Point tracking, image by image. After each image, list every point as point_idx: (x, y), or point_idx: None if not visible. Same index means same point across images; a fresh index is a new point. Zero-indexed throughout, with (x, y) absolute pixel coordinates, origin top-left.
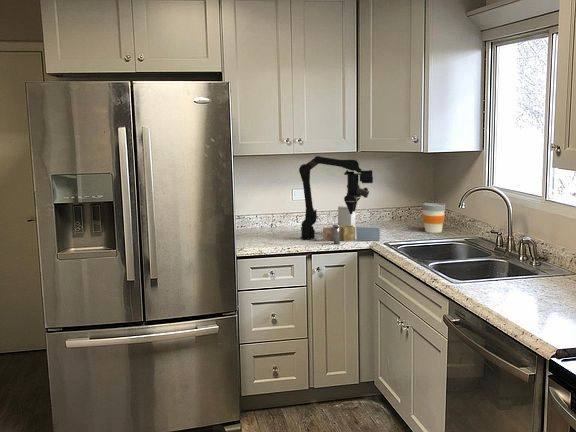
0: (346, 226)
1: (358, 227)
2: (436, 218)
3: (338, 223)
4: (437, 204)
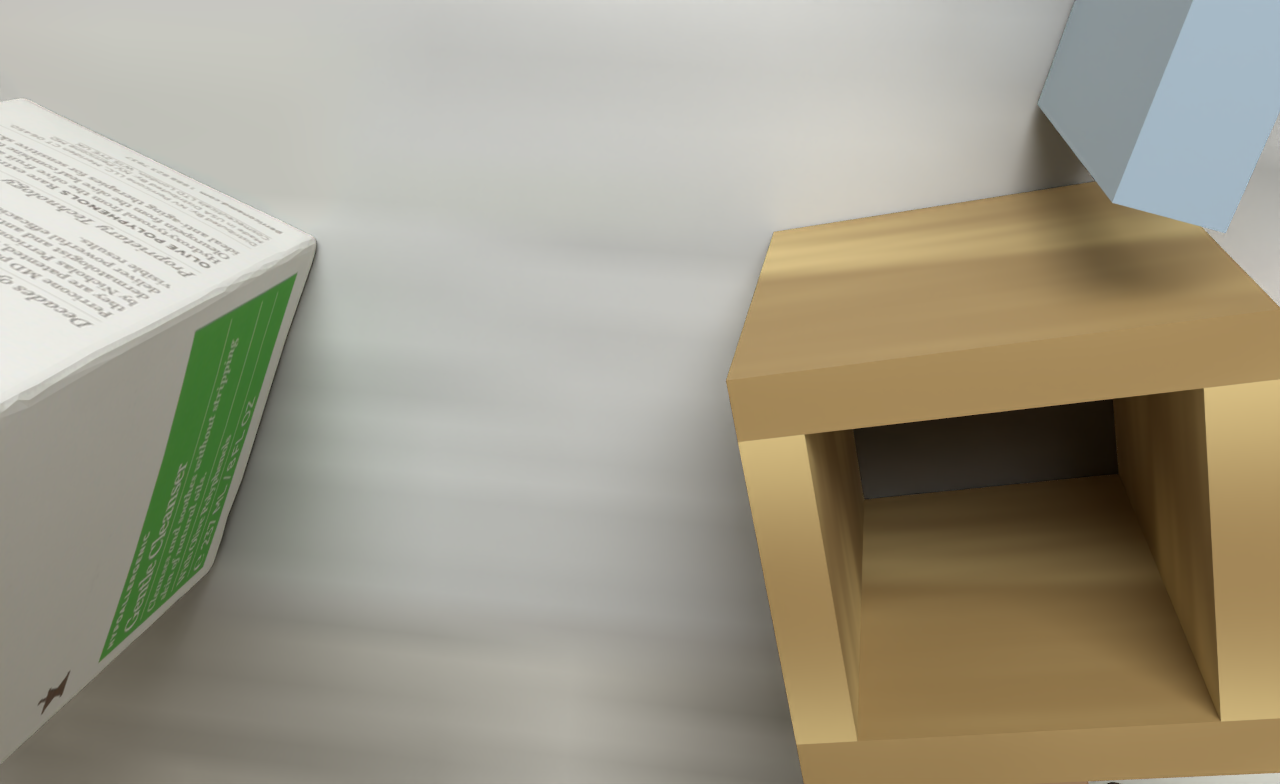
0: (834, 600)
1: (1262, 128)
2: None
3: (27, 730)
4: None
